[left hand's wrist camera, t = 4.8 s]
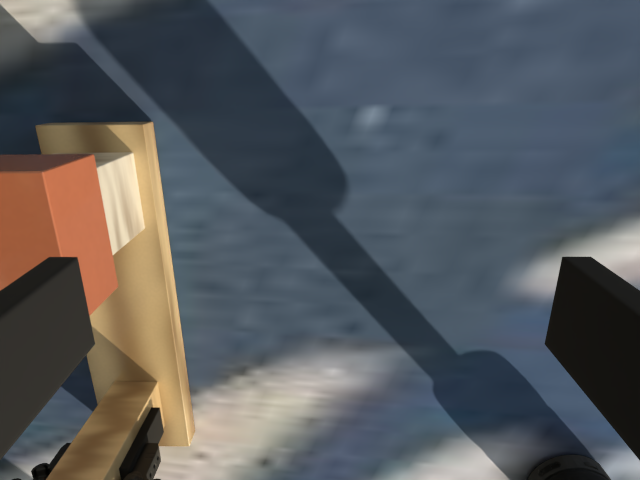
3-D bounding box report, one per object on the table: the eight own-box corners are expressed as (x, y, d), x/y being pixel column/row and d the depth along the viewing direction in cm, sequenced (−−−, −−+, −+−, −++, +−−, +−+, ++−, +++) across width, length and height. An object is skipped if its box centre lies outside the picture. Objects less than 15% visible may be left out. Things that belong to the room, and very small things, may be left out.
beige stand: (153, 121, 35) (47, 150, 22) (195, 430, 45) (140, 577, 32) (50, 122, 35) (-116, 152, 22) (115, 430, 45) (29, 575, 32)
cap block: (94, 153, 26) (42, 171, 21) (119, 286, 29) (78, 328, 24) (-51, 155, 26) (-134, 172, 21) (-12, 287, 29) (-78, 328, 24)
